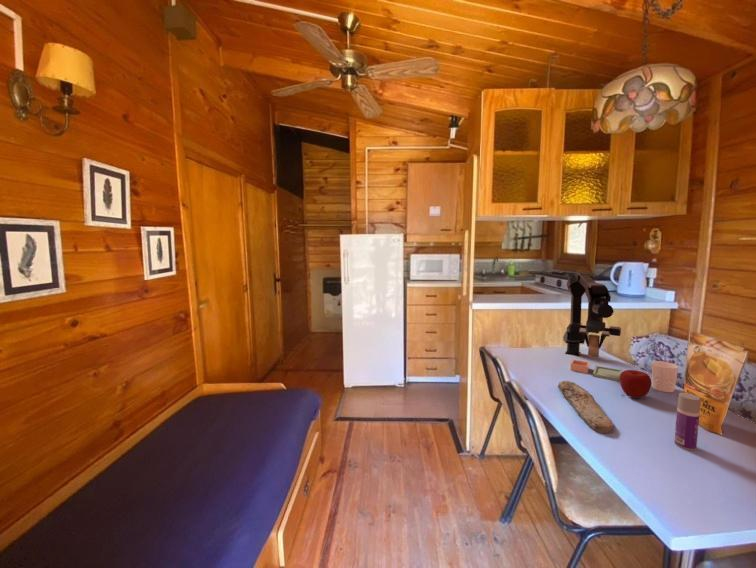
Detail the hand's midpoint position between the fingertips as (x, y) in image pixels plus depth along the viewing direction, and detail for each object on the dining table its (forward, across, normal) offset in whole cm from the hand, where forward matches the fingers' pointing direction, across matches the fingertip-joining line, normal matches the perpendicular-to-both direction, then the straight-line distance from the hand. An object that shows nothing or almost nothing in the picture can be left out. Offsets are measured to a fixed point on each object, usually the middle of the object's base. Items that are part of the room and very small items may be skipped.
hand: (593, 347), depth 149 cm
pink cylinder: (+12, +24, -3) cm, 27 cm away
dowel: (+4, 0, 0) cm, 4 cm away
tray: (+12, +6, 0) cm, 13 cm away
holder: (+12, -5, 0) cm, 13 cm away
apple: (+12, +15, -17) cm, 26 cm away
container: (+12, +28, -47) cm, 56 cm away
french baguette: (+13, +1, -38) cm, 40 cm away
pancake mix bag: (+12, +34, -27) cm, 45 cm away
